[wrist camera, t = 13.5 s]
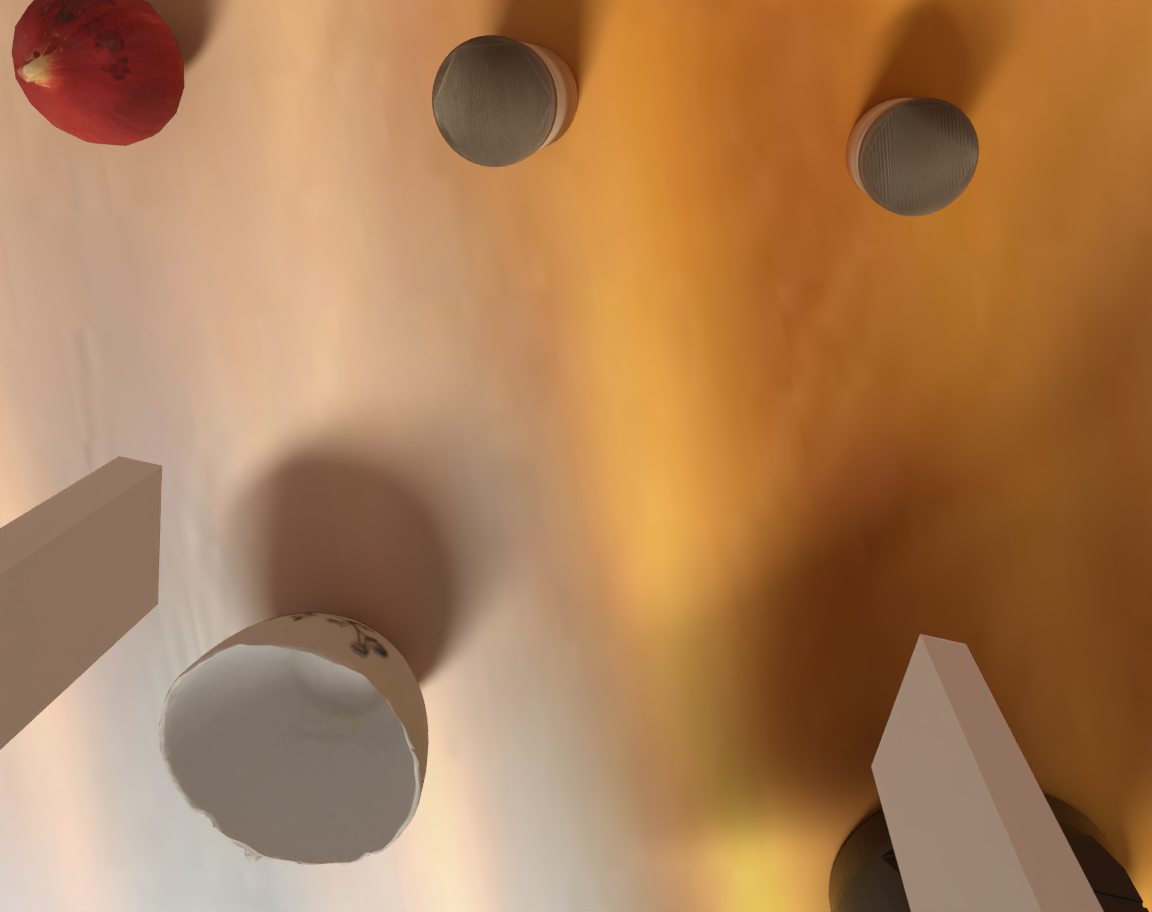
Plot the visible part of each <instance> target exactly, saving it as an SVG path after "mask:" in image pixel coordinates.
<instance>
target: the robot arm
mask: <svg viewBox="0 0 1152 912" xmlns="http://www.w3.org/2000/svg"><path fill="white" fill-rule="evenodd" d="M161 481H162V466H161V465H156V464H152V463H147V462H143V461H138V460H133V459H129V458H124V457H120V456H119V457H117V458H116V459H114V460H112V461H111V462H109V463H107V464H106V465H104V466H103V467H101V468H99V469H98V470H96V471H94V472H93V473H91V474H89V475H88V476H86V477H84V478H83V479H81V480H79V481H78V482H76V483H74V484H73V485H71V486H69V487H68V488H66V489H65V490H63V491H61V492H60V493H58V494H56V495H55V496H53V497H51V498H50V499H48V500H46V501H45V502H43V503H41V504H40V505H38V506H36V507H35V508H33V509H31V510H30V511H28V512H27V513H25V514H23V515H22V516H20V517H18V518H17V519H15V520H13V521H12V522H10V523H8V524H7V525H5V526H3V527H2V528H0V750H1V749H2V748H3V747H4V746H5V745H6V744H7V743H8V742H9V741H10V740H11V739H12V738H14V737H15V736H16V735H17V734H18V733H19V732H20V731H21V730H22V729H23V728H24V727H25V726H26V725H28V724H29V723H30V722H31V721H32V720H33V719H34V718H35V717H36V716H37V715H38V714H39V713H41V712H42V711H43V710H44V709H45V708H46V707H47V706H48V705H49V704H50V703H51V702H52V701H53V700H55V699H56V698H57V697H58V696H59V695H60V694H61V693H62V692H63V691H64V690H65V689H66V688H68V687H69V686H70V685H71V684H72V683H73V682H74V681H75V680H76V679H77V678H78V677H79V676H81V675H82V674H83V673H84V672H85V671H86V670H87V669H88V668H89V667H90V666H91V665H92V664H93V663H95V662H96V661H97V660H98V659H99V658H100V657H101V656H102V655H103V654H104V653H105V652H106V651H108V650H109V649H110V648H111V647H112V646H113V645H114V644H115V643H116V642H117V641H118V640H119V639H120V638H122V637H123V636H124V635H125V634H126V633H127V632H128V631H129V630H130V629H131V628H132V627H133V626H135V625H136V624H137V623H138V622H139V621H140V620H141V619H142V618H143V617H144V616H145V615H146V614H148V613H149V612H150V611H151V610H152V609H153V608H154V607H155V606H156V605H157V604H158V582H159V548H160V514H161ZM871 768H872V771H873V775H874V779H875V782H876V786H877V790H878V793H879V797H880V801H881V804H882V808H883V809H882V810H881V811H879V812H878V813H876V814H875V815H873V816H872V817H871V818H869V819H868V820H867V821H866V822H865V823H863V824H862V825H861V826H860V827H859V828H858V829H857V830H856V831H855V832H854V833H853V834H852V836H851V837H850V838H849V839H848V841H847V842H846V843H845V845H844V846H843V848H842V849H841V851H840V853H839V855H838V857H837V859H836V861H835V864H834V866H833V869H832V873H831V877H830V884H829V902H830V908H831V912H1149V911H1148V909H1147V908H1144V907H1143V905H1142V903H1143V901H1142V899H1141V897H1140V895H1139V894H1138V892H1137V890H1136V888H1135V887H1134V885H1133V883H1132V881H1131V880H1130V878H1129V876H1128V874H1127V873H1126V871H1125V869H1124V868H1123V867H1122V866H1121V864H1120V863H1119V861H1118V859H1117V857H1116V855H1115V853H1114V851H1113V850H1112V848H1111V846H1110V844H1109V843H1108V841H1107V840H1106V838H1105V837H1104V835H1103V834H1102V833H1101V832H1100V830H1099V829H1098V828H1097V827H1096V826H1095V825H1094V824H1093V823H1092V822H1091V821H1090V820H1089V819H1087V818H1086V817H1085V816H1084V815H1083V814H1081V813H1080V812H1078V811H1077V810H1075V809H1074V808H1072V807H1071V806H1069V805H1067V804H1066V803H1064V802H1062V801H1060V800H1058V799H1056V798H1053V797H1051V796H1048V795H1046V794H1043V793H1042V791H1041V789H1040V787H1039V785H1038V783H1037V781H1036V779H1035V777H1034V775H1033V773H1032V771H1031V769H1030V767H1029V765H1028V763H1027V762H1026V760H1025V758H1024V756H1023V754H1022V752H1021V750H1020V748H1019V746H1018V744H1017V742H1016V740H1015V738H1014V736H1013V734H1012V732H1011V730H1010V728H1009V727H1008V725H1007V723H1006V721H1005V719H1004V717H1003V715H1002V713H1001V711H1000V709H999V707H998V705H997V703H996V701H995V699H994V697H993V695H992V693H991V692H990V690H989V688H988V686H987V684H986V682H985V680H984V678H983V676H982V674H981V672H980V670H979V668H978V666H977V664H976V662H975V660H974V658H973V656H972V655H971V653H970V651H969V649H968V647H967V645H966V644H964V643H960V642H955V641H951V640H946V639H942V638H937V637H933V636H928V635H924V634H920V635H919V638H918V641H917V644H916V646H915V649H914V652H913V654H912V657H911V660H910V663H909V665H908V668H907V671H906V673H905V676H904V679H903V682H902V684H901V687H900V690H899V692H898V695H897V698H896V700H895V703H894V706H893V709H892V711H891V714H890V717H889V719H888V722H887V725H886V728H885V730H884V733H883V736H882V738H881V741H880V744H879V747H878V749H877V752H876V755H875V757H874V760H873V763H872V766H871Z"/></svg>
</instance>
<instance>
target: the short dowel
mask: <svg viewBox="0 0 1152 912" xmlns="http://www.w3.org/2000/svg"><path fill="white" fill-rule="evenodd" d="M978 155H979V146H978V139H977V135H976V131H975V129H974V127H973V125H972V123H971V121H970V120H969V118H968V117H967V116H966V115H965V114H964V113H963V112H962V111H961V110H960V109H959V108H957V107H956V106H954V105H952V104H950V103H948V102H946V101H942V100H939V99H932V98H908V97H899V98H892V99H889V100H886V101H883V102H881V103H879V104H877V105H875V106H873V107H872V108H871V109H869V110H868V111H867V112H866V113H865V114H864V115H862V117H861V118H860V119H859V120H858V121H857V123H856V124H855V126H854V128H853V130H852V132H851V134H850V136H849V139H848V143H847V148H846V162H847V168H848V171H849V174H850V176H851V178H852V180H853V181H854V183H855V184H856V185H857V187H858V188H859V189H860V190H861V191H863V192H864V193H865V194H867V195H868V196H870V197H871V198H872V199H873V200H874V201H875V202H876V203H878V204H879V205H881V206H882V207H884V208H885V209H887V210H889V211H891V212H893V213H896V214H899V215H905V216H922V215H927V214H931V213H933V212H936V211H939V210H941V209H942V208H944V207H946V206H948V205H949V204H950V203H952V202H953V201H954V200H955V199H957V198H958V197H959V196H960V195H961V193H962V192H963V191H964V190H965V189H966V187H967V186H968V184H969V183H970V181H971V179H972V177H973V175H974V172H975V169H976V166H977V162H978Z"/></svg>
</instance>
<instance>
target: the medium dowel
mask: <svg viewBox="0 0 1152 912" xmlns="http://www.w3.org/2000/svg"><path fill="white" fill-rule="evenodd" d="M577 104H578V91H577V85H576V81H575V78H574V76H573V73H572V71H571V70H570V68H569V66H568V65H567V64H566V62H565V61H564V60H563V59H562V58H561V57H560V56H559V55H557V54H556V53H555V52H553V51H552V50H550V49H548V48H545V47H542V46H539V45H534V44H529V43H524V42H519V41H517V40H514V39H511V38H507V37H502V36H495V35H486V36H480V37H476V38H472V39H470V40H468V41H465V42H463V43H462V44H460V45H459V46H457V47H456V48H455V49H454V50H453V51H451V52H450V53H449V55H448V56H447V57H446V58H445V60H444V61H443V63H442V64H441V66H440V68H439V70H438V72H437V75H436V78H435V81H434V85H433V92H432V107H433V113H434V117H435V120H436V124H437V126H438V128H439V131H440V132H441V134H442V136H443V138H444V139H445V140H446V142H447V143H448V144H449V146H450V147H451V148H452V149H453V150H454V151H455V152H457V153H458V154H459V155H460V156H462V157H463V158H465V159H467V160H468V161H471V162H473V163H475V164H478V165H482V166H488V167H503V166H508V165H512V164H515V163H517V162H519V161H522V160H523V159H525V158H527V157H529V156H530V155H532V154H533V153H534V152H536V151H538V150H540V149H542V148H544V147H546V146H548V145H550V144H551V143H553V142H555V141H556V140H558V139H559V138H560V137H561V136H562V135H563V134H564V133H565V132H566V131H567V130H568V128H569V127H570V125H571V123H572V121H573V119H574V117H575V114H576V110H577Z"/></svg>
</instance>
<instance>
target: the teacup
mask: <svg viewBox="0 0 1152 912" xmlns="http://www.w3.org/2000/svg"><path fill="white" fill-rule="evenodd" d="M159 728H160V750H161V753H162V756H163V760H164V763H165V766H166V769H167V773H168V776H169V779H170V780H172V782H173V784H174V785H175V786H176V788H177V790H178V791H179V792H180V794H181V795H182V797H183V798H184V799H185V801H186V802H187V804H188V805H189V806H190V808H191V809H192V810H194V811H195V812H197V813H201V814H204V815H205V817H207V818H209V819H210V820H211V822H212V824H213V827H214V828H216V829H217V830H218V832H220V833H221V835H222V836H224V837H225V838H227V839H228V840H230V841H231V842H232V843H234V844H236V845H237V846H239V847H241V848H244V849H245V856H246V857H247V858H248V860H249V861H250V862H256V861H258V860H259V859H261V858H262V857H264V858H267V859H270V860H278V861H286V862H295V863H298V864H300V865H302V866H303V865H310V864H329V863H334V864H343V865H345V864H349V863H353V862H357V861H359V860H361V859H363V858H365V857H367V856H369V854H378V853H380V852H382V851H383V850H384V849H386V848H387V847H388V846H390V845H391V844H392V843H393V842H394V841H395V840H396V839H397V838H398V837H399V836H400V835H401V833H402V832H403V831H404V829H405V828H406V827H407V826H408V824H409V823H410V821H411V820H412V818H413V816H414V814H415V812H416V809H417V807H418V804H419V800H420V796H421V792H422V787H423V783H424V778H425V773H426V766H427V755H428V723H427V715H426V709H425V704H424V700H423V696H422V693H421V690H420V687H419V685H418V683H417V680H416V678H415V676H414V674H413V672H412V670H411V668H410V666H409V665H408V663H407V662H406V660H405V659H404V657H403V656H402V655H401V654H400V652H399V651H398V650H397V649H396V648H395V647H394V646H393V645H392V644H391V643H390V642H389V641H388V640H387V639H386V638H384V637H383V636H382V635H380V634H379V633H378V632H376V631H375V630H373V629H371V628H369V627H368V626H366V625H364V624H362V623H360V622H357V621H355V620H352V619H349V618H346V617H342V616H338V615H333V614H326V613H298V614H290V615H284V616H279V617H275V618H272V619H269V620H266V621H263V622H260V623H257V624H255V625H252V626H250V627H248V628H246V629H244V630H242V631H240V632H238V633H236V634H234V635H233V636H231V637H229V638H228V639H226V640H225V641H223V642H221V643H220V644H218V645H217V646H215V647H214V648H213V649H211V650H210V651H208V652H207V653H206V654H205V655H203V656H202V657H201V658H200V659H198V660H197V661H196V662H195V663H193V664H192V665H191V666H190V667H189V668H188V669H187V670H186V671H185V672H184V673H182V674H181V675H180V676H179V677H178V678H177V679H176V680H175V682H174V683H173V685H172V687H171V688H170V690H169V691H168V693H167V696H166V699H165V702H164V705H163V708H162V715H161V720H160V723H159Z"/></svg>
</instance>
